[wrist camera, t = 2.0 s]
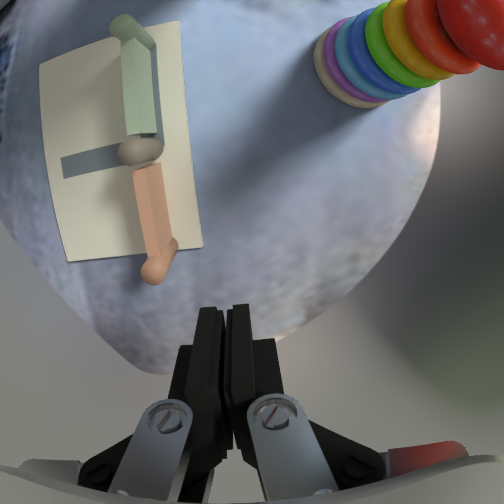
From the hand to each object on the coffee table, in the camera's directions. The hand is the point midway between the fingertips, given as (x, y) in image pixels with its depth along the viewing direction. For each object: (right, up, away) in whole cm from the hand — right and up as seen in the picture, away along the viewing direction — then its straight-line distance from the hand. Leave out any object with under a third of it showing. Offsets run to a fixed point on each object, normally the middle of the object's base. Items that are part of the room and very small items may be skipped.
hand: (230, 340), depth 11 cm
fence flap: (-7, +8, +14) cm, 17 cm away
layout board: (-11, +12, +13) cm, 21 cm away
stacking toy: (+10, +19, +11) cm, 24 cm away
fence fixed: (-8, +17, +10) cm, 21 cm away
